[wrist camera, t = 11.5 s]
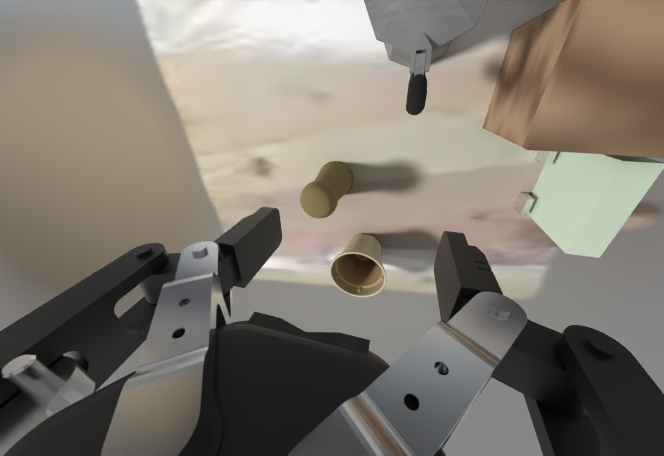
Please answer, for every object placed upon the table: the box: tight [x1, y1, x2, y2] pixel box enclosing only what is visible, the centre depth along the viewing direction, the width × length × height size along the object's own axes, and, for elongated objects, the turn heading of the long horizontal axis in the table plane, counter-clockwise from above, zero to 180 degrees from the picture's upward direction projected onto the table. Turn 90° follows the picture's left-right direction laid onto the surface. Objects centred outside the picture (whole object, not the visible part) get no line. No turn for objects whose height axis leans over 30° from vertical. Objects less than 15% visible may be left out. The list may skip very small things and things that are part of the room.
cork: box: [300, 161, 353, 218], centre depth 36 cm, size 6×6×11 cm
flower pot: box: [329, 234, 386, 297], centre depth 42 cm, size 9×9×9 cm
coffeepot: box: [364, 0, 488, 115], centre depth 21 cm, size 15×9×18 cm, turn 3°
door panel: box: [528, 152, 664, 258], centre depth 27 cm, size 10×4×11 cm, turn 0°
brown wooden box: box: [483, 0, 664, 158], centre depth 22 cm, size 10×11×14 cm
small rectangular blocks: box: [514, 151, 557, 215], centre depth 31 cm, size 9×6×2 cm, turn 179°
